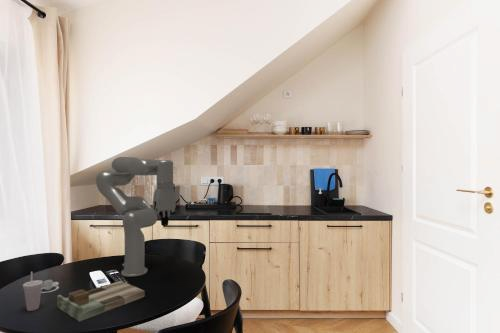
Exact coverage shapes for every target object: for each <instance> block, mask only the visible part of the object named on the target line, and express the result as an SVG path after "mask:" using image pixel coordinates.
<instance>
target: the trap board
mask: <svg viewBox="0 0 500 333" xmlns="http://www.w3.org/2000/svg"><path fill="white" fill-rule="evenodd" d="M86 291H87V292H89V303H87V304H85V305H82V306H79V305H77V304H75V303H74V302H72V301H70V300H69V296H68V297H65V296H63V295H61V294H58V295H57V296H56V297H57V300H56V301H57V302H56V307H57V309H59V310H61V311H62V312H64V313H65V314H67V315H68V316H70V317H72V318H74V319H73V320H76V321H78V322H79V323H80V322H82V321H85V320H87V319H90V318H93V317H95V316H98V315H100V314H103V313H106V312H108V311H111V310H114V309H115V308H116V309H117V308H118V307H122V306H123V305H124V306H125V305H127V304H129V303H132V302H135V301H137V300H139V299H140V300H141V299H142V298H144V297H146V296H145V295H146V293H145V290H144V289H141V288H139V287H138V286H135V285H132V284H129V283H127V282H125V281H122V280H119V281H115V282H113V283H110V284H106V285H103V286H100V287H97V288H93V289H90V290H86Z"/></svg>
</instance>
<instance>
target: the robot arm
mask: <svg viewBox="0 0 500 333" xmlns="http://www.w3.org/2000/svg"><path fill="white" fill-rule="evenodd" d="M111 168H112V170H105V171H104V170H103V171H101V172H99V173H98V174H97V175H96V178H95V181H96V182H95V183H96V187H97V189H98V191H99V193H100V194H101V195H102V196H103V197H104V198H105V199H106V200H107V201H108V202H109V204H110V205H111V206H112V207H113V209H114V210H115V211H116V213H117V214H118V215H120V216H122V226H123V227H122V228H123V233H124V262H123V263H122V265H121V266H122V267H123V269H122V270H121V271H120V272H121V273H120V275H121V276H122V277H127V278H129V277H130V278H131V277H139V276H143V275H145V274H146V273H148V268H147V267H146V266H145V254H146V252H145V250H146V249H145V235H144V234H145V233H143V231H142V229H144V228H149V227H153V226H154V225H155V224H156V223H157V222H158V216H159V217H160V223H161V226H163V227H166V226H167V227H168V226H169V217H170V216H171V214H172V213H174V212H176V206H177V205H176V204H177V203H176V202H177V200H176V193H175V188H174V187H175V185H176V184H175V183H174V162H173V161H172V160H170V159H144V158H143V159H142V158H141V159H140V158H138V157H133V156H129V157H128V156H118V157H115V158H114V159H113V160H112V162H111ZM135 176H156V189H154V192H153V196H152V197H153V198H152V199H153V200H152V206H151V205H150V204H149V202H147V200H146V199H145V198H144V197H142V196H139V195H136V196H135V195H134V196H133V195H132V196H130V195H129V196H128V195H127V194H125V193H124V191H123V190H122V189H121V188H119V186H121V187H122V186H127V185H128V184H130V183H131V182H132V180H133V179H134V178H135ZM117 186H118V187H117ZM157 215H158V216H157Z"/></svg>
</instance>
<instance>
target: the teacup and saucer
mask: <svg viewBox="0 0 500 333" xmlns="http://www.w3.org/2000/svg"><path fill="white" fill-rule="evenodd" d="M59 285H60V282H58V281H53V279H47V280H44V281H43V285H42V290H43V289H44V290H45V291H41V294H45V293H51V292H55V291H57V290H58V289H59V288H60V287H59ZM53 288H55V289H53Z"/></svg>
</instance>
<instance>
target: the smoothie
mask: <svg viewBox="0 0 500 333" xmlns="http://www.w3.org/2000/svg"><path fill="white" fill-rule="evenodd" d="M33 273H34V272H33V271H30V281H26V282H25V283H23V284H22V289H23V291H24V292H23V293H24V300H25V306H26V311H27V312H31V311H32V312H33V311H36V310H38V309H39V308H40V302H41V295H42V293H41V292H42V290H43V289H42V288H43V286H42V285H43V284H44V281H43V280H41V279H39V280H38V279H36V280H33V279H34V278H33Z"/></svg>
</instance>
